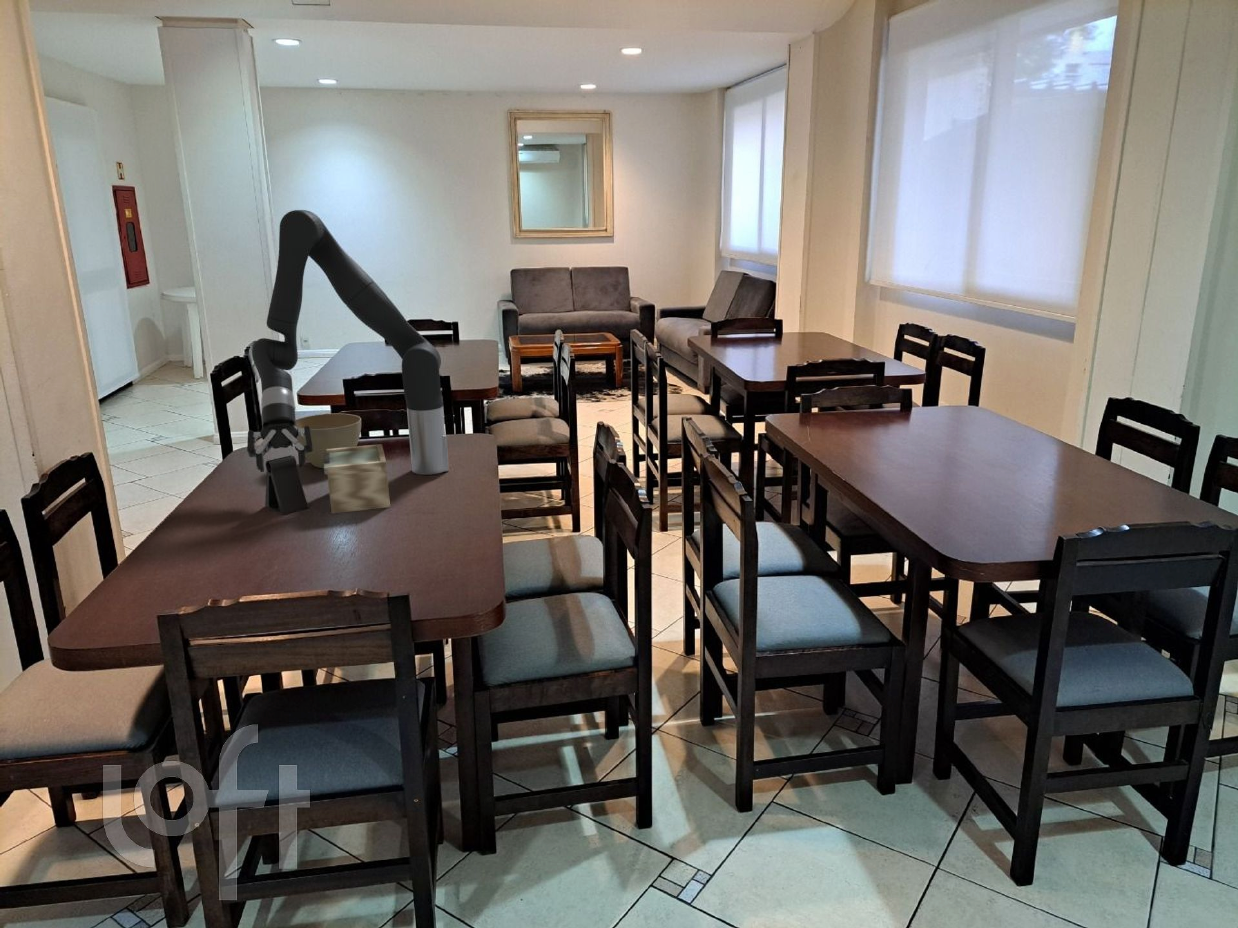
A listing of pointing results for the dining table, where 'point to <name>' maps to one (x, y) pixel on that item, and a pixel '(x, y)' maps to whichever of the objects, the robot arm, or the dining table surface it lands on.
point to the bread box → (357, 478)
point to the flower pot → (329, 434)
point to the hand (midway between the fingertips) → (281, 468)
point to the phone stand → (284, 486)
